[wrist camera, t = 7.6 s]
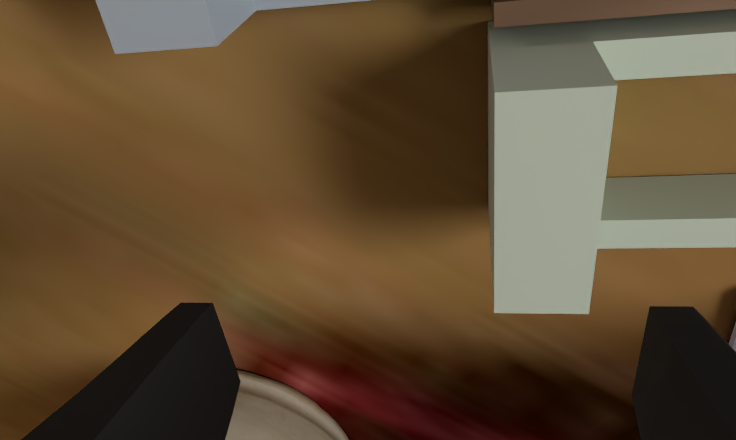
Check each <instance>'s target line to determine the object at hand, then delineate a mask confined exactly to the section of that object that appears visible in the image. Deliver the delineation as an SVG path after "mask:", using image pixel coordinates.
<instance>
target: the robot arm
mask: <svg viewBox="0 0 736 440" xmlns="http://www.w3.org/2000/svg"><path fill="white" fill-rule="evenodd" d="M240 382H241V381H240V378H239V375H238V373H237V370H236V367H235V364H234V361H233V359H232V356H231V353H230V350H229V347H228V345H227V342H226V339H225V336H224V333H223V330H222V328H221V325H220V322H219V319H218V316H217V314H216V311H215V308H214V305H213V303H180V304H179V305H178V306H177V307H175V308H174V309H173V310H172V311H170V312H169V313H168V314H167V315H166V316H165V317H163V318H162V319H161V320H160V321H159V322H158V323H157V324H156V325H154V326H153V327H152V328H151V329H150V330H149V331H148V332H147V333H145V334H144V335H143V336H142V337H141V338H140V339H139V340H138V341H137V342H135V343H134V344H133V345H132V346H131V347H130V348H129V349H128V350H126V351H125V352H124V353H123V354H122V355H121V356H120V357H119V358H117V359H116V360H115V361H114V362H113V363H112V364H111V365H110V366H108V367H107V368H106V369H105V370H104V371H103V372H102V373H100V374H99V375H98V376H97V377H96V378H95V379H94V380H92V381H91V382H90V383H89V384H88V385H87V386H86V387H85V388H83V389H82V390H81V391H80V392H79V393H78V394H76V395H75V396H74V397H73V398H72V399H70V400H69V401H68V402H67V403H65V404H64V405H63V406H62V407H61V408H59V409H58V410H57V411H56V412H54V413H53V414H52V415H51V416H50V417H48V418H47V419H46V420H45V421H43V422H42V423H41V424H40V425H39V426H37V427H36V428H35V429H34V430H32V431H31V432H30V433H29V434H28V435H26V436H25V437H24V438H23V439H21V440H225V438H226V435H227V432H228V428H229V425H230V421H231V417H232V414H233V410H234V406H235V402H236V398H237V394H238V390H239V386H240ZM632 397H633V403H634V408H635V413H636V418H637V424H638V429H639V434H640V439H641V440H736V322H735V326H734V329H733V332H732V335H731V338H730V341H729V344H728V343H727V342H726V341H725V340H724V339H723V338H722V337H721V335H720V334H719V333H718V332H717V331H716V330H715V329H714V328H713V327H712V326H711V325H710V324H709V323H708V322H707V321H706V319H705V318H704V317H703V316H702V315H701V314H700V313H699V312H698V311H697V310H696V309H695V308H694V307H655V306H650V308H649V313H648V318H647V323H646V328H645V333H644V338H643V343H642V348H641V353H640V358H639V363H638V368H637V373H636V377H635V382H634V387H633V392H632Z"/></svg>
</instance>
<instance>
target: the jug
mask: <svg viewBox="0 0 736 440" xmlns="http://www.w3.org/2000/svg"><path fill="white" fill-rule="evenodd" d="M237 373H238V375H239V378H240V381H241V382H240V386H239V390H238V394H237V398H236V402H235V406H234V410H233V414H232V417H231V421H230V425H229V428H228V432H227V435H226V438H225V440H349V439H348V437H347V435H346V434H345V433H344V431H343V430H342V428H341V427H340V426H339V425H338V423H337V422H336V421H335V420H334V419H333V418H332V417H331V416H330V415H329V414H328V413H327V412H325V411H324V410H323V409H322V408H321V407H320V406H319V405H318V404H317V403H316V402H314V401H313V400H311V399H310V398H308V397H307V396H305V395H304V394H302V393H301V392H299V391H297V390H296V389H294V388H292V387H290V386H288V385H285V384H283V383H280V382H278V381H275V380H272V379H269V378H266V377H262V376H259V375H256V374H253V373H249V372H245V371H240V370H237Z"/></svg>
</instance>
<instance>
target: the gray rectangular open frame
mask: <svg viewBox="0 0 736 440" xmlns="http://www.w3.org/2000/svg"><path fill="white" fill-rule="evenodd" d="M358 1H369V0H96V3H97V6H98V9H99V11H100V14H101V17H102V20H103V22H104V25H105V28H106V31H107V33H108V36H109V39H110V42H111V44H112V47H113V50H114V53H115V54H122V53H135V52H148V51H160V50H173V49H186V48H199V47H211V46H218V45H219V44H220V43H221V42H222V41H223V40H224V39H226V38H227V37H228V36H229V35H230V34H231V33H232V32H233V31H234V30H235V29H237V28H238V27H239V26H240V25H241V24H242V23H243V22H244V21H245V20H247V19H248V18H249V17H250V16H251V15H252V14H253V13H254V12H255V11H257V10H269V9H280V8H291V7H302V6H313V5H324V4H336V3H347V2H358Z"/></svg>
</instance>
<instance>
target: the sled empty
mask: <svg viewBox="0 0 736 440" xmlns="http://www.w3.org/2000/svg"><path fill="white" fill-rule="evenodd" d="M728 73H736V9H727V10H714V11H701V12H688V13H675V14H662V15H649V16H636V17H623V18H611V19H598V20H585V21H572V22H559V23H546V24H533V25H520V26H508V27H495V28H494V24H493V21H488V208H489V227H490V246H491V265H492V284H493V302H494V313H537V314H589V309H590V301H591V293H592V285H593V277H594V269H595V261H596V253H597V249H598V248H706V247H736V174H714V175H681V176H648V177H615V178H606V173H607V165H608V157H609V149H610V141H611V133H612V125H613V117H614V109H615V101H616V93H617V84H616V82H615V80H627V79H643V78H660V77H677V76H694V75H711V74H728Z"/></svg>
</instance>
